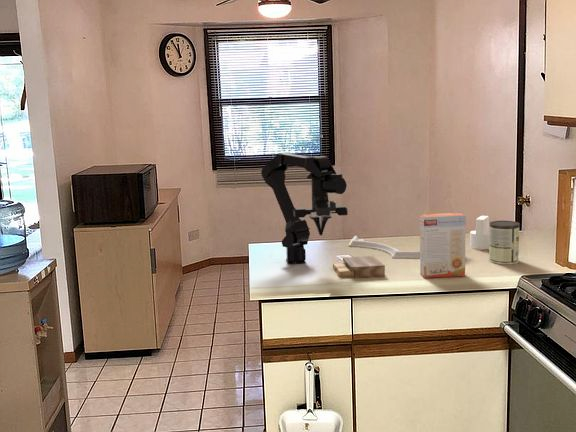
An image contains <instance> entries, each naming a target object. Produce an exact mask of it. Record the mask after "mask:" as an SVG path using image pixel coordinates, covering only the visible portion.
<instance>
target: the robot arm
mask: <svg viewBox="0 0 576 432" xmlns="http://www.w3.org/2000/svg"><path fill="white" fill-rule="evenodd" d="M289 166H293V167H299V168H303V169H305V171H306V172H309V175H308V176H306V179H307V180H310V181H311V183H310V184H311V209H310V208H309V209H306V207H303V206H301V207H295V206H294V203H293V201H292V199H291V196H290V193H289V192H288V189H287V187H286V184H285V183H286V178H287V177H286V171H287V170H288V169H289ZM260 174H261V177H262V179H263V180H264V182H265V184H266V185H267V186H269V187H270V188H271V189H272V191H273V194H274V196H275V198H276V199H275V200H276V201H277V203H278V206H279V209H280V211H281V213H282V216H283V218H284V221H285V230H284V232H285V236H284V237H283V239H282V240H281V245H282V247H284V248H285V249H286V258H285V260H286V263H287V264H288V265H292V264H305V263H306V258H307V257H306V256H307V255H306V249H305V246H306V245H308V242H309V239H310V236H311V232H310V227H309V225H308V223H307V221H306V219H303V220H302V219H300V218H305V217H306V216H307V215H309V216H308V217H309V218H310V219H311V220H313V222H314V225H315V227H316V229H317V232H318V235H319V236H323V233H324V230H325V228H326V224H327V222H328V221H329V219H332V218H333V217H332V216H331V215H332V214H337V215H338V216H348V207H347V206H345V205H344V204H343V205H341V204H338V205H337V204H336V203H337V202H336V200H330V201H329V194H334V195H336V194H337V195H342V194H344V193H345V192H346V190H347V181H346V180H345V178H344V177H343V174H342V173H337V172H336V170H335V168H334V167H333V165H332V163H331V160H329V157H328V156H326V155H320V156H319V155H318V156H306V155H299V154H295V153H289V152H279V153H278V154H276V155H275V156H274V158H272V159H270V160H269V161H268V162H267V163H266V164H265V165H264V166H263V167H262V169H261V171H260Z"/></svg>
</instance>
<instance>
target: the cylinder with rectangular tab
mask: <svg viewBox="0 0 576 432" xmlns="http://www.w3.org/2000/svg"><path fill="white" fill-rule="evenodd" d="M469 233H470V234H469V236H470V237H469V238H470V239H469V248H470V249H473V248H474V250H480V249H488V250H489V244H490V215H480V216H478V217H477V218H475V230H471V231H470V232H469Z"/></svg>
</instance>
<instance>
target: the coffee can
mask: <svg viewBox="0 0 576 432" xmlns="http://www.w3.org/2000/svg"><path fill="white" fill-rule="evenodd" d="M520 226H521V223H520V222H518V221H512V220H493V221H489V231H490V244H489V249H488V250H489V253H488V254H489V256H488V261H489V262H490V263H493V264H495V265H496V264H497V265H515V264H518V263H519V261H520V260H519V251H520Z"/></svg>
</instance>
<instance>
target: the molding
mask: <svg viewBox="0 0 576 432" xmlns="http://www.w3.org/2000/svg"><path fill="white" fill-rule="evenodd" d="M348 247H349V248H365V249H371V250H377V251H382V252H383V253H386V254H388V255H390V256H391V258H392V259H413V260H414V259H420V251H407V250H404V251H402V250H400V249H397V248H395V247H393V246H390V245H387V244H384V243H379V242H374V241H365V239H364V238H359V237H358V235H354V237H353V238H351V239H350V242H349V244H348Z"/></svg>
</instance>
